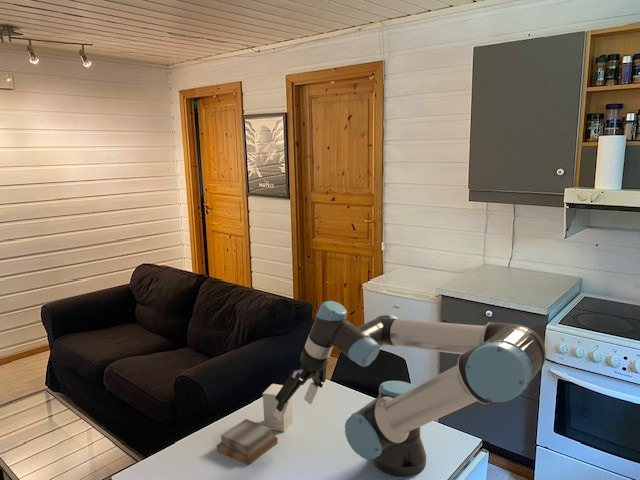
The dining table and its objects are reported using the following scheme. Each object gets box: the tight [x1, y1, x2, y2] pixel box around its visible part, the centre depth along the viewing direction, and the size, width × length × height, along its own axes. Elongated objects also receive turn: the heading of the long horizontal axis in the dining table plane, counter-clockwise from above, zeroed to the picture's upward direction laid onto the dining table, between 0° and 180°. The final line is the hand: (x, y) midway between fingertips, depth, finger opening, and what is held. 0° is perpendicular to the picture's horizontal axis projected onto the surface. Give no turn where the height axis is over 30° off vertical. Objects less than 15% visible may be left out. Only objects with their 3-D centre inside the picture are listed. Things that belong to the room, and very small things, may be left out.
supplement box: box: [262, 383, 294, 433], centre depth 160 cm, size 7×7×13 cm
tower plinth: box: [216, 418, 278, 466], centre depth 149 cm, size 13×13×5 cm
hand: (293, 409), depth 144 cm, fingers open, 13 cm apart
